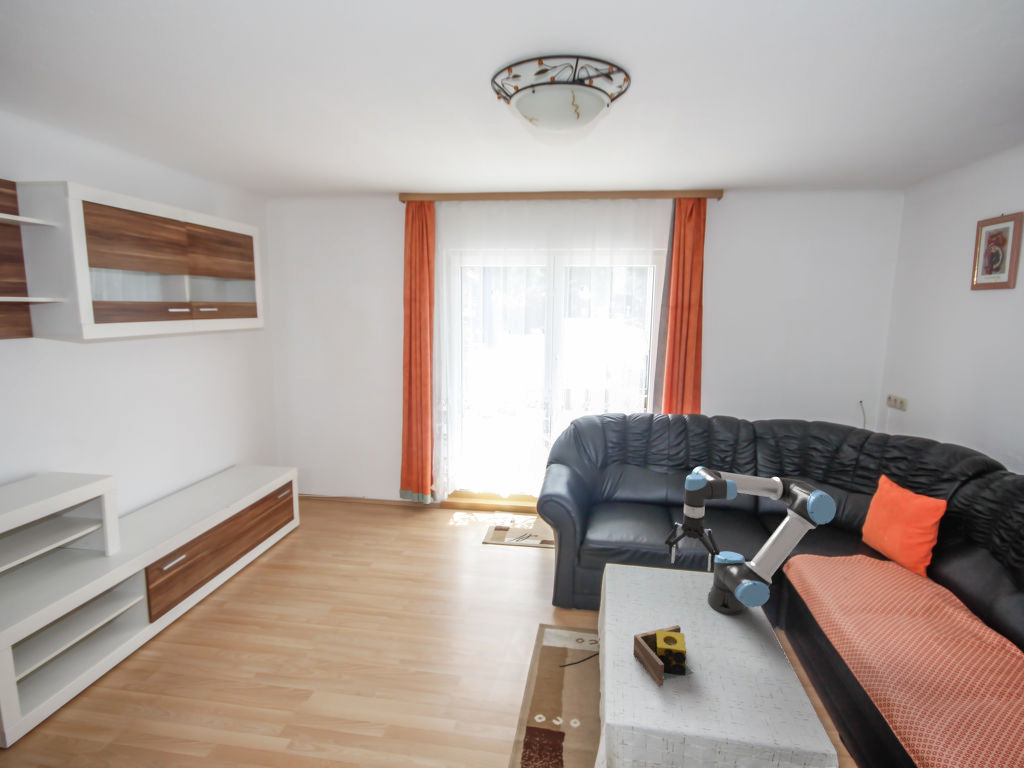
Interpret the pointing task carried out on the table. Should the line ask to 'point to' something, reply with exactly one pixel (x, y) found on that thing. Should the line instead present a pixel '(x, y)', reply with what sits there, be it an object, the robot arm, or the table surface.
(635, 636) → the corner walls
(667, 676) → the mat
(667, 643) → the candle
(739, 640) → the table surface
